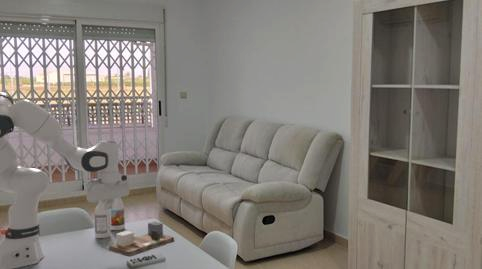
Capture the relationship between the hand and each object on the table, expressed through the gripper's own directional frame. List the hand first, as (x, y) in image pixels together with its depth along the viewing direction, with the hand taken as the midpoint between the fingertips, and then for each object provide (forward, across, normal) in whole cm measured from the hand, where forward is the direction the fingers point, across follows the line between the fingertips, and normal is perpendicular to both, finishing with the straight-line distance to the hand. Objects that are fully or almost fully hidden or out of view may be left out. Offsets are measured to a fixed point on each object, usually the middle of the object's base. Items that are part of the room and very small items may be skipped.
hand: (108, 209), depth 201 cm
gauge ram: (+17, +9, -2) cm, 20 cm away
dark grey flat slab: (+17, +21, -7) cm, 28 cm away
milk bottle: (+18, +24, +26) cm, 40 cm away
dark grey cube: (+17, +26, -1) cm, 31 cm away
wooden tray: (+18, +16, -4) cm, 24 cm away
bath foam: (+19, +12, +21) cm, 31 cm away
